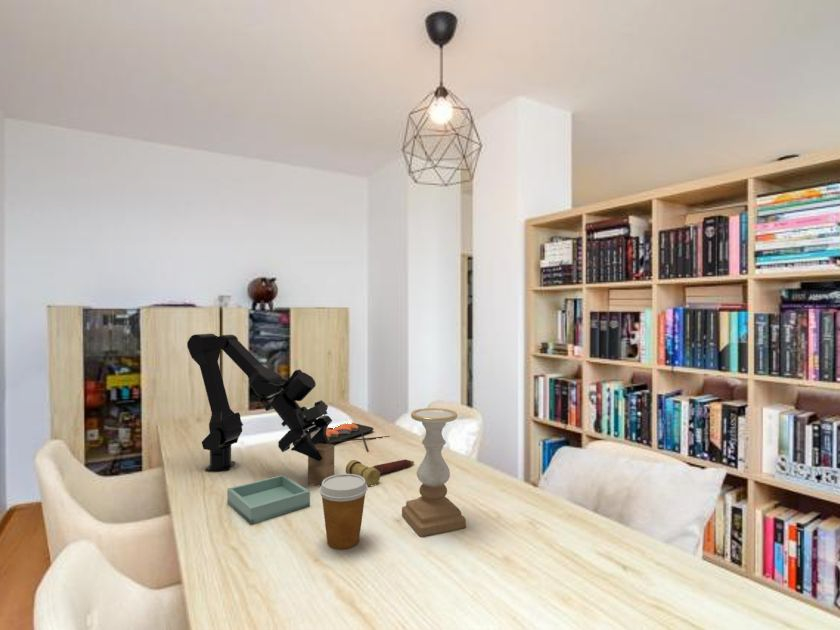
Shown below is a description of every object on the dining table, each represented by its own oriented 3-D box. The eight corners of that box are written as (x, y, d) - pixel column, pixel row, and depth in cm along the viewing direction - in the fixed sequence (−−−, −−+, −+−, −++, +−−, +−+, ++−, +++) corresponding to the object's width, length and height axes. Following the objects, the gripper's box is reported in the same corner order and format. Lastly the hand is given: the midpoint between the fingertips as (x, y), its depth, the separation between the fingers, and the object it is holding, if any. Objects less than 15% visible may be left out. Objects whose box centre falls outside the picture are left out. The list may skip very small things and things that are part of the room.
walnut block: (307, 484, 120) (308, 448, 120) (317, 477, 125) (318, 443, 124) (324, 486, 118) (325, 450, 118) (334, 479, 123) (334, 444, 123)
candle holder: (400, 514, 103) (401, 409, 102) (444, 507, 107) (445, 405, 107) (419, 537, 93) (421, 420, 92) (467, 527, 97) (468, 416, 96)
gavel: (403, 450, 139) (425, 458, 132) (402, 465, 139) (424, 474, 132) (345, 461, 125) (367, 470, 118) (344, 477, 125) (366, 488, 118)
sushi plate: (349, 426, 180) (349, 417, 180) (409, 440, 162) (409, 429, 162) (289, 444, 156) (289, 433, 156) (352, 462, 139) (352, 450, 139)
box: (227, 503, 108) (227, 488, 108) (283, 488, 117) (283, 474, 117) (250, 524, 97) (250, 508, 97) (309, 506, 107) (309, 491, 106)
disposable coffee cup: (375, 534, 94) (375, 476, 94) (353, 558, 85) (354, 494, 85) (334, 526, 97) (334, 470, 97) (309, 548, 88) (309, 487, 88)
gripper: (288, 399, 113) (327, 447, 110) (326, 387, 131) (360, 428, 128) (261, 427, 116) (299, 476, 113) (302, 412, 134) (335, 453, 130)
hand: (326, 456), depth 121 cm, fingers closed on walnut block, 5 cm apart
